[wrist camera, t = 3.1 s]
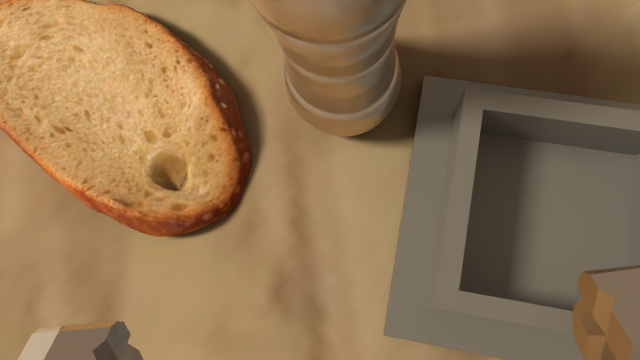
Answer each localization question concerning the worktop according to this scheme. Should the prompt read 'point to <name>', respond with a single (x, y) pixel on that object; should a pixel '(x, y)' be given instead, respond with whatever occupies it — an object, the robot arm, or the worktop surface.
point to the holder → (511, 216)
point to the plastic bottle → (338, 59)
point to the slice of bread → (121, 114)
